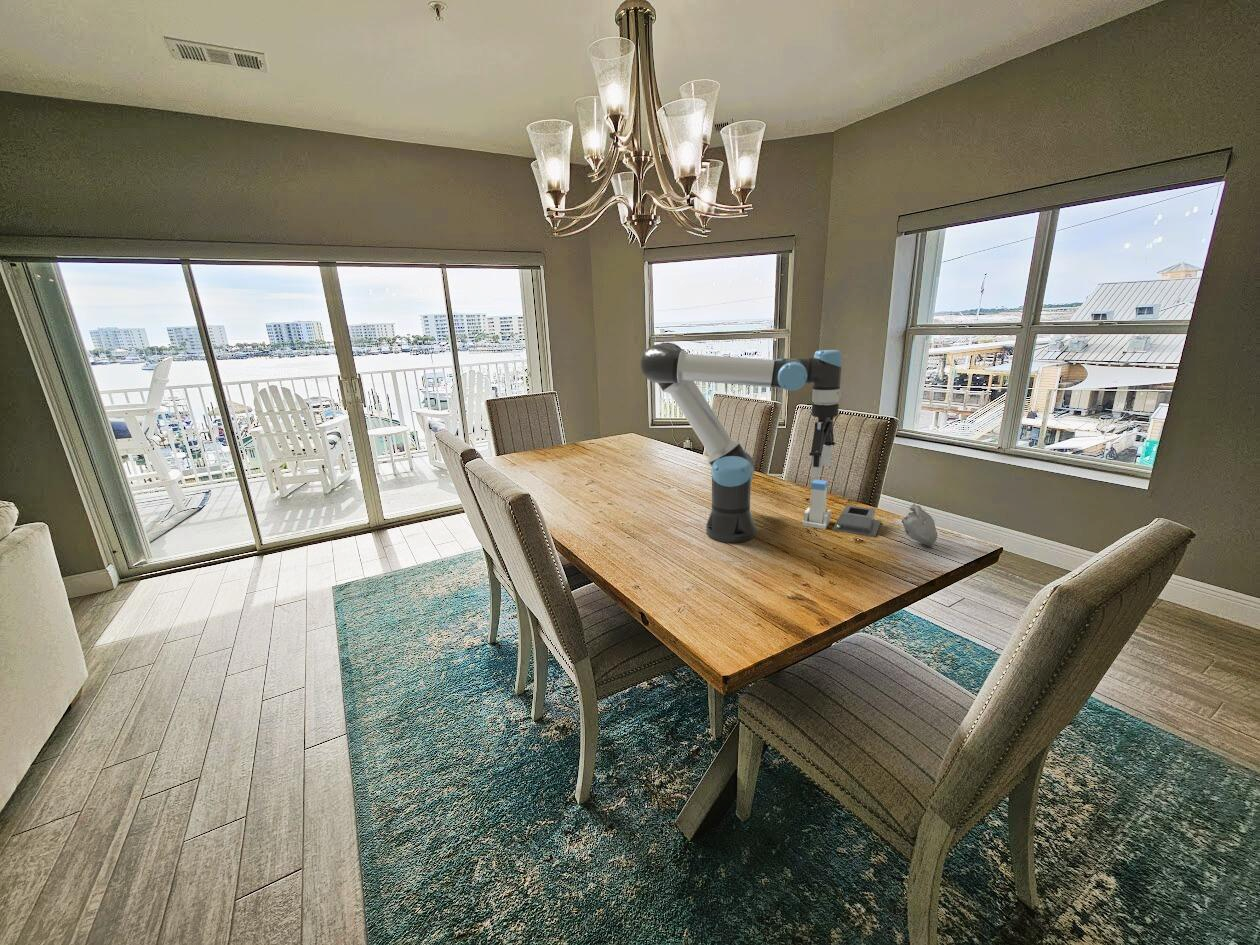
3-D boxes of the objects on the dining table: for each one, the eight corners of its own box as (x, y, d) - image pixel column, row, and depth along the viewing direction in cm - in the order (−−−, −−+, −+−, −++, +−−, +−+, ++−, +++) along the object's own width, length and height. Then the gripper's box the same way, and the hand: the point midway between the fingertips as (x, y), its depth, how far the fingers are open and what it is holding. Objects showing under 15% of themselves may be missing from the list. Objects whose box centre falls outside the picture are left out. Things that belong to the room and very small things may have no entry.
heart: (913, 554, 131) (926, 513, 128) (889, 539, 140) (901, 501, 137) (944, 556, 133) (958, 515, 130) (919, 541, 142) (931, 503, 138)
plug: (808, 524, 154) (811, 482, 150) (811, 519, 158) (814, 479, 154) (821, 526, 152) (824, 484, 148) (824, 522, 155) (827, 480, 151)
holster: (802, 525, 154) (803, 513, 152) (807, 518, 159) (808, 506, 158) (825, 529, 150) (826, 517, 149) (830, 521, 155) (831, 510, 154)
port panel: (832, 529, 149) (833, 515, 148) (840, 516, 160) (841, 501, 158) (875, 537, 143) (876, 521, 141) (880, 522, 153) (882, 507, 152)
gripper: (829, 410, 132) (825, 483, 138) (846, 397, 152) (841, 462, 158) (801, 409, 136) (798, 480, 142) (821, 397, 156) (818, 459, 162)
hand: (821, 470), depth 150 cm, fingers open, 13 cm apart
